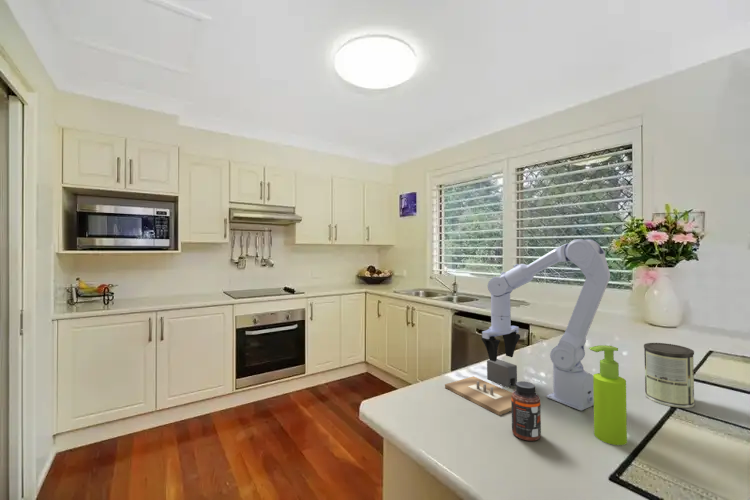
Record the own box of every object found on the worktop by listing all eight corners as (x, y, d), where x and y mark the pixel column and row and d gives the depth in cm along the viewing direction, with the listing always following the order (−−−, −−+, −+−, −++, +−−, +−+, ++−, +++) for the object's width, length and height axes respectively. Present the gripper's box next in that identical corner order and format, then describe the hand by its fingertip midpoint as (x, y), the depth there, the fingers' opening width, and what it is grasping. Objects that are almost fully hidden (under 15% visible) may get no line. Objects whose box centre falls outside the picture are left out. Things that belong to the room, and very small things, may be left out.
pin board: (529, 403, 90) (529, 392, 90) (499, 415, 84) (499, 403, 84) (473, 379, 107) (473, 370, 107) (444, 387, 101) (444, 377, 101)
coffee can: (638, 389, 98) (637, 341, 98) (682, 394, 94) (681, 344, 94) (654, 405, 88) (653, 351, 88) (704, 410, 85) (703, 355, 85)
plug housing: (517, 385, 102) (516, 365, 102) (508, 387, 100) (508, 367, 100) (495, 376, 109) (495, 358, 109) (487, 379, 107) (486, 360, 107)
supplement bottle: (544, 443, 72) (543, 390, 72) (514, 441, 73) (514, 388, 73) (536, 429, 77) (536, 380, 77) (509, 426, 79) (508, 378, 79)
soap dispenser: (583, 431, 76) (582, 343, 76) (612, 429, 77) (610, 342, 77) (603, 446, 70) (601, 351, 70) (634, 444, 71) (632, 349, 71)
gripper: (505, 310, 112) (506, 351, 112) (474, 315, 105) (474, 358, 105) (524, 314, 106) (524, 357, 106) (492, 319, 99) (493, 365, 99)
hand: (501, 358), depth 105 cm, fingers open, 7 cm apart
